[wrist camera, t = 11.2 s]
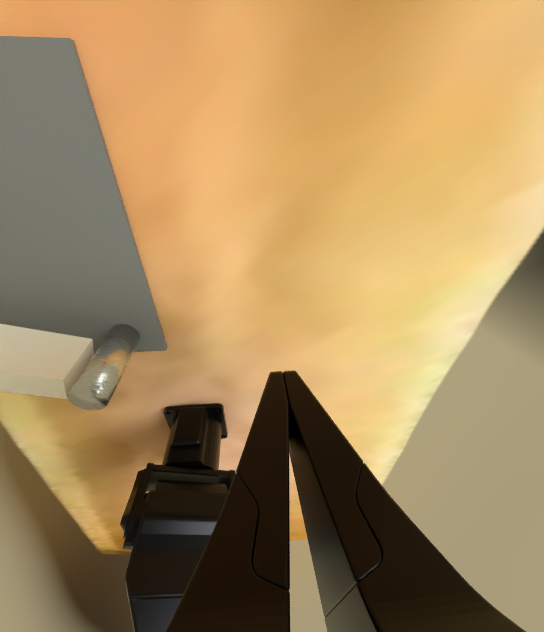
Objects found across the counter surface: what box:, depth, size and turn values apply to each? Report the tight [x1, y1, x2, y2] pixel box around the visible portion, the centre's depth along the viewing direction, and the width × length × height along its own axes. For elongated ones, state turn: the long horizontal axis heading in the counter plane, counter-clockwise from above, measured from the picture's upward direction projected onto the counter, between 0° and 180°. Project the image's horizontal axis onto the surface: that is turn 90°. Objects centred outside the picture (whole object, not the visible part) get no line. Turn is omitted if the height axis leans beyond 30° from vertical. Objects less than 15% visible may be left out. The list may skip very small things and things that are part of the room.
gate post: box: [68, 324, 140, 410], centre depth 20 cm, size 2×2×7 cm
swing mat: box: [0, 36, 167, 354], centre depth 18 cm, size 20×14×1 cm
